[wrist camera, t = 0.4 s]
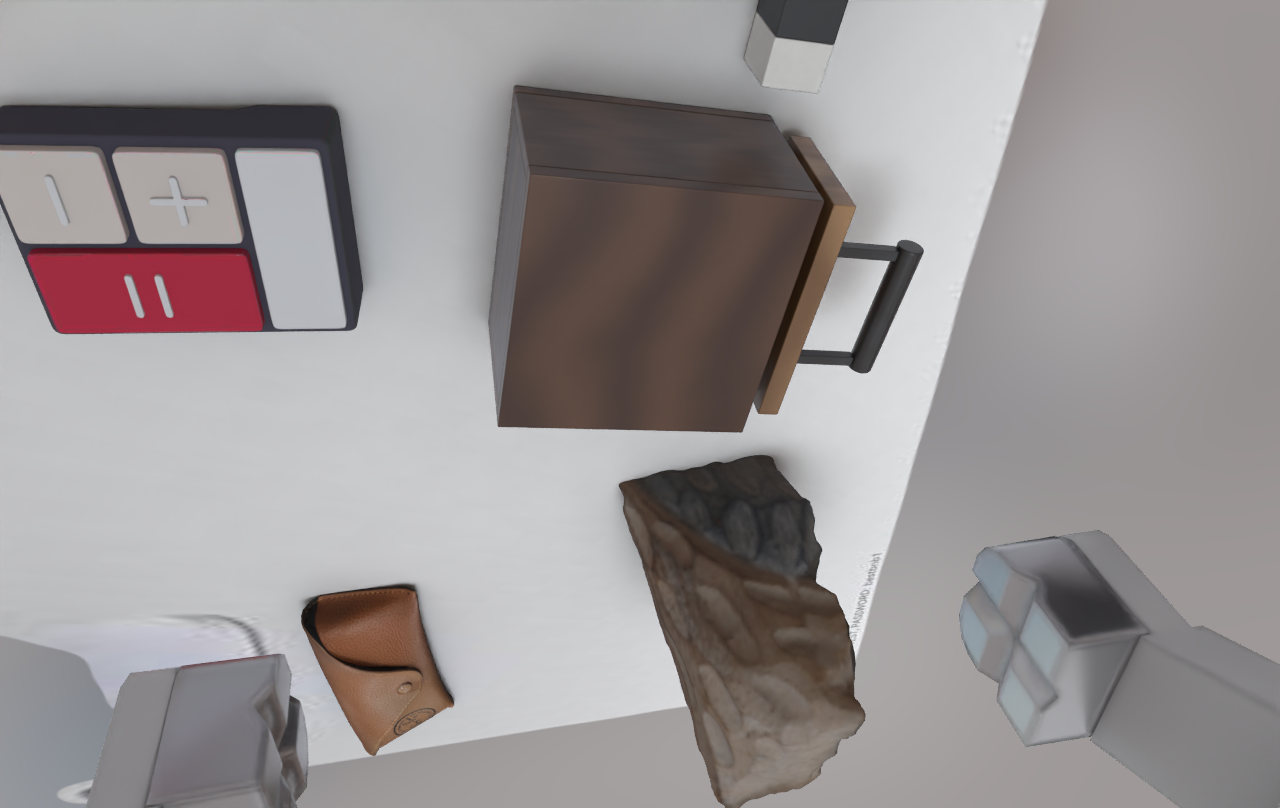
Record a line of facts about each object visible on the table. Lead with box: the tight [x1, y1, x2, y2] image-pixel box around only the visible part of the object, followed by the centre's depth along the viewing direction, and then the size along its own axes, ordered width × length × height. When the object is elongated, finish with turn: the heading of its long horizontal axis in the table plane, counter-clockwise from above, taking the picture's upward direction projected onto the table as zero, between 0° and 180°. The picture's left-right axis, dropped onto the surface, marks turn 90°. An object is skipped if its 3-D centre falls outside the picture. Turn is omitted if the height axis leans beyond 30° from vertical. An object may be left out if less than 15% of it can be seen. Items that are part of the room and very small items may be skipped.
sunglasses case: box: [301, 587, 454, 756], centre depth 74 cm, size 18×7×7 cm
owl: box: [619, 455, 865, 808], centre depth 64 cm, size 13×13×20 cm
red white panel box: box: [0, 106, 363, 334], centre depth 46 cm, size 11×4×15 cm
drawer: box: [753, 136, 924, 414], centre depth 51 cm, size 18×13×7 cm
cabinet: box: [488, 86, 824, 432], centre depth 49 cm, size 14×15×9 cm
